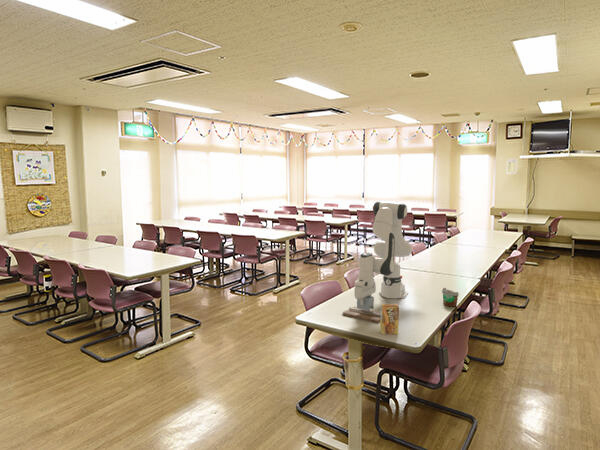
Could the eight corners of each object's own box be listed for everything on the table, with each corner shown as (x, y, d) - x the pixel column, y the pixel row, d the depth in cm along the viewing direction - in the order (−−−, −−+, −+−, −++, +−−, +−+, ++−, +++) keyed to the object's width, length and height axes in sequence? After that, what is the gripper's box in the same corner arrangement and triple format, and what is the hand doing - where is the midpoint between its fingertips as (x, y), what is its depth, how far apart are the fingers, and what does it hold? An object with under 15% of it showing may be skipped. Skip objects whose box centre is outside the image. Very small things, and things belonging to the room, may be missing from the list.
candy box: (396, 331, 210) (396, 303, 208) (398, 334, 206) (399, 306, 204) (379, 331, 209) (380, 303, 208) (381, 334, 205) (382, 306, 203)
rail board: (354, 308, 247) (354, 304, 246) (387, 316, 233) (388, 311, 232) (342, 314, 236) (342, 310, 235) (377, 323, 222) (377, 318, 221)
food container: (437, 303, 258) (437, 288, 257) (444, 302, 261) (445, 287, 259) (450, 308, 247) (451, 293, 246) (458, 307, 249) (458, 292, 248)
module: (361, 305, 238) (361, 294, 238) (373, 308, 233) (373, 296, 233) (356, 308, 234) (356, 296, 233) (368, 310, 229) (369, 299, 228)
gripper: (369, 276, 242) (368, 298, 243) (352, 283, 226) (352, 306, 227) (378, 277, 238) (378, 300, 239) (362, 284, 222) (361, 308, 223)
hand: (365, 303), depth 233 cm, fingers closed on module, 6 cm apart
